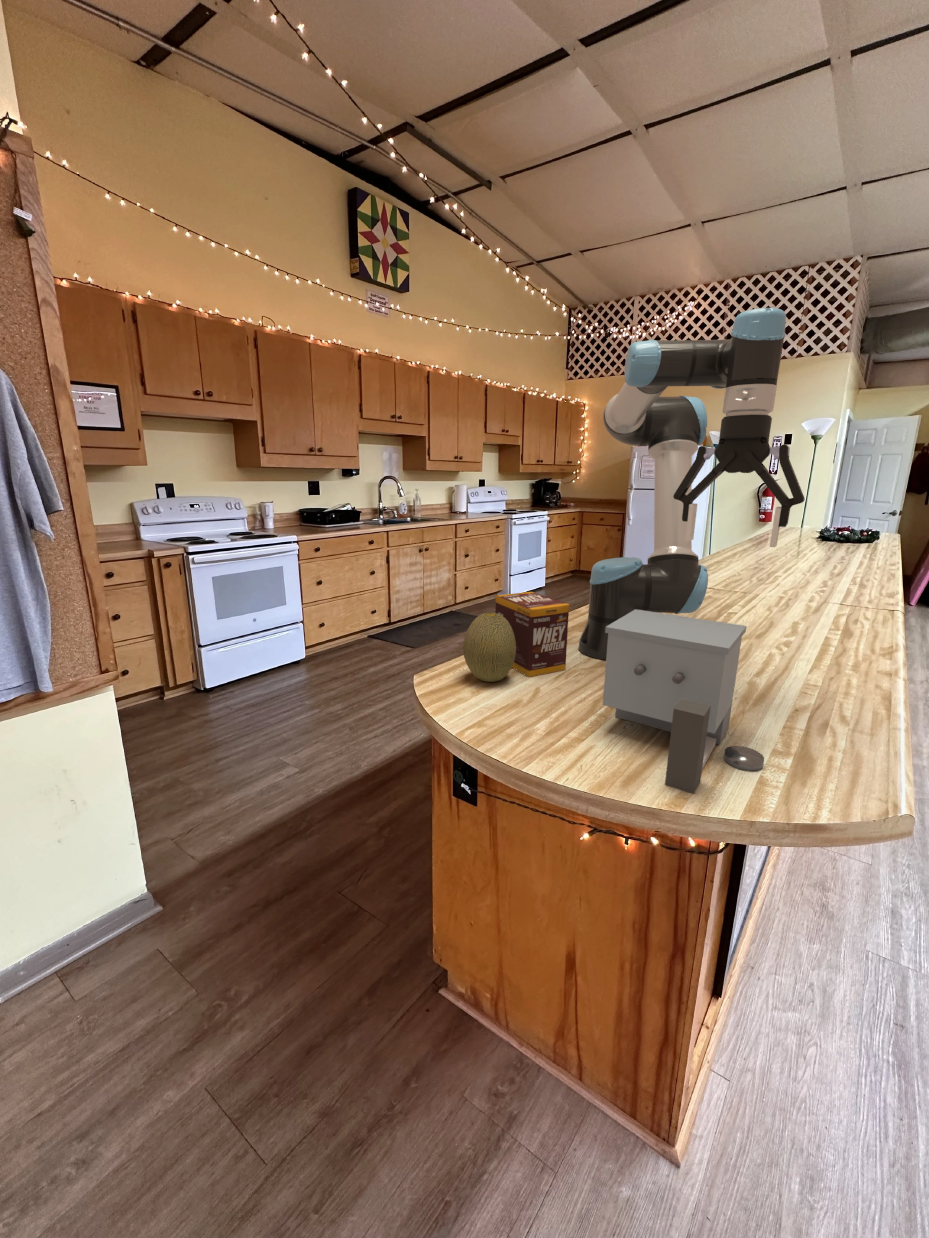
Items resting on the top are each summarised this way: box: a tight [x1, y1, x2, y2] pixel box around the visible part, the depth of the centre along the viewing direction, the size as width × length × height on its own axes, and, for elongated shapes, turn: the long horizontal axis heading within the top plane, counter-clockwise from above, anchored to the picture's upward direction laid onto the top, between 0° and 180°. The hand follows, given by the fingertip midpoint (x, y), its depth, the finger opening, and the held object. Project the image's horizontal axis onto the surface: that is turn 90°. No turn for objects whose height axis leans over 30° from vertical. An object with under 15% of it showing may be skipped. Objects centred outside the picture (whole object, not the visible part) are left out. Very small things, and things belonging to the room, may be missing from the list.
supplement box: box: [494, 591, 570, 678], centre depth 126 cm, size 10×15×16 cm
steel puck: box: [723, 745, 765, 772], centre depth 85 cm, size 6×6×2 cm
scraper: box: [664, 699, 716, 795], centre depth 83 cm, size 4×17×12 cm, turn 145°
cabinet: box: [602, 609, 747, 746], centre depth 92 cm, size 19×16×19 cm
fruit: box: [462, 612, 516, 683], centre depth 116 cm, size 11×11×15 cm
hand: (729, 543), depth 96 cm, fingers open, 13 cm apart
